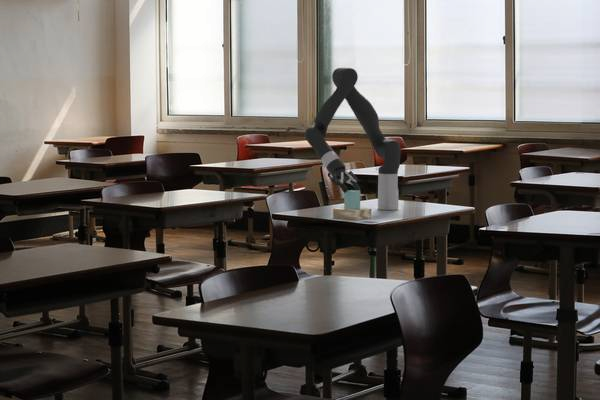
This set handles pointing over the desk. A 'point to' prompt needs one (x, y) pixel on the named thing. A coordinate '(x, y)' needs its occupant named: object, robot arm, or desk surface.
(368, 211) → the block
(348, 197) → the teal block
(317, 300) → the desk surface
